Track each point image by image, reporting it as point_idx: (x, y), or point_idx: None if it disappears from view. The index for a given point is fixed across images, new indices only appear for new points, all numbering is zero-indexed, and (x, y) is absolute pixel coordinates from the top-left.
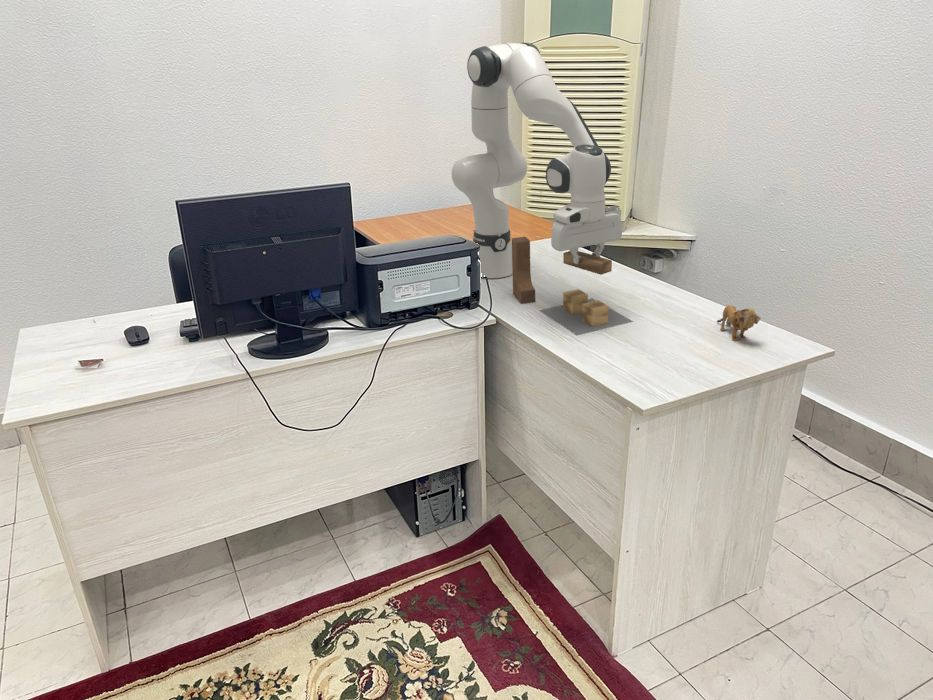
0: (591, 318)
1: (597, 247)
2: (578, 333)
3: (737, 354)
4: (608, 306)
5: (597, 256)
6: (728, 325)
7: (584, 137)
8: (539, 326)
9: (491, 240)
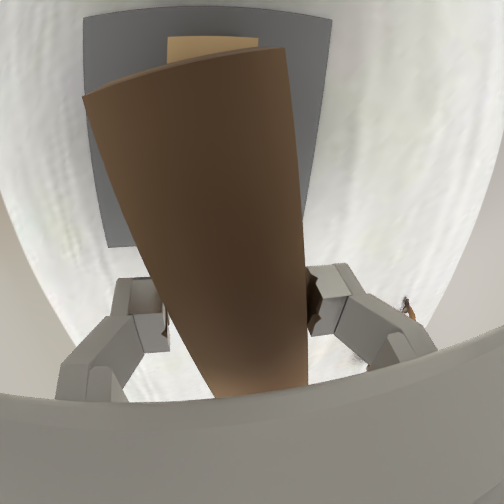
0: None
1: (380, 331)
2: (116, 240)
3: (324, 371)
4: None
5: (305, 337)
6: (404, 311)
7: None
8: (35, 139)
9: None
